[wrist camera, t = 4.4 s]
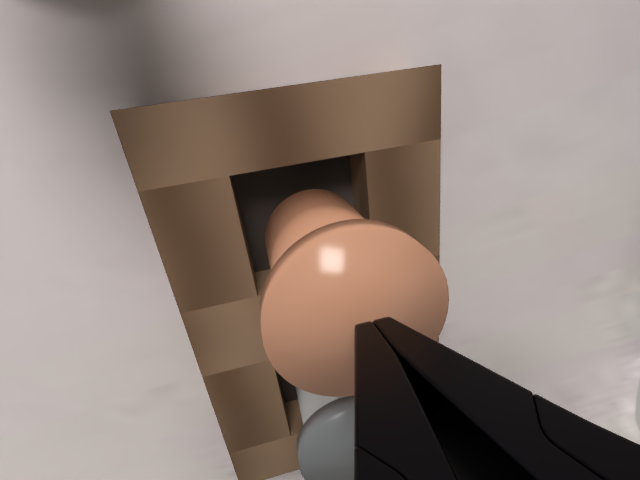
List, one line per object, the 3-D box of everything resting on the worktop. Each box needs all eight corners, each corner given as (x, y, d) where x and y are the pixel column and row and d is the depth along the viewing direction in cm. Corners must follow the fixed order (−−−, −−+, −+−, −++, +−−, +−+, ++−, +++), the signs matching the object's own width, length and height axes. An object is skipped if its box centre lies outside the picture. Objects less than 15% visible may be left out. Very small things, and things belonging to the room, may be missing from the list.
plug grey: (360, 316, 20) (405, 396, 14) (366, 380, 22) (408, 471, 16) (275, 336, 19) (290, 429, 14) (289, 401, 21) (308, 504, 16)
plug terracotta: (366, 165, 13) (450, 211, 8) (374, 275, 15) (447, 370, 10) (239, 188, 13) (241, 255, 7) (264, 300, 15) (281, 416, 9)
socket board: (411, 68, 16) (441, 64, 14) (418, 395, 24) (437, 427, 22) (130, 107, 14) (109, 110, 12) (240, 446, 22) (240, 486, 20)
